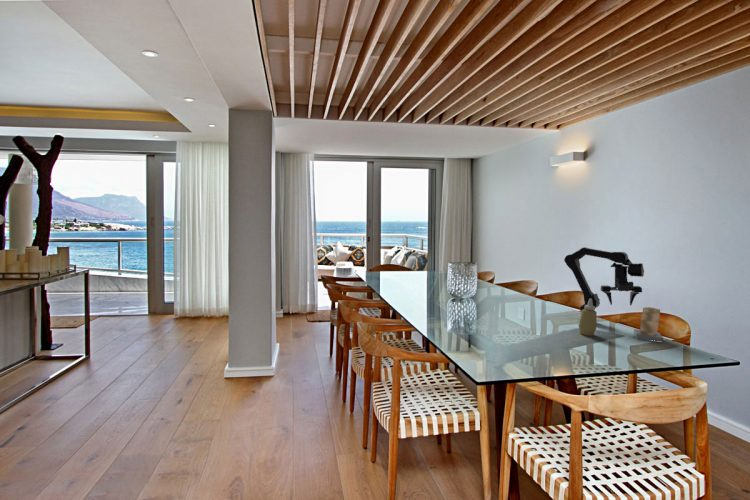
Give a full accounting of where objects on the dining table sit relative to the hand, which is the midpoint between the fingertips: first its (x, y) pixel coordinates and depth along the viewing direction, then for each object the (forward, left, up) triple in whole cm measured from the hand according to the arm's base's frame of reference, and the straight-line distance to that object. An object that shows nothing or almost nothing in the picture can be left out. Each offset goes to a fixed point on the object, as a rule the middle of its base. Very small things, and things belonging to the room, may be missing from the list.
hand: (620, 305), depth 239 cm
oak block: (+12, -13, -10) cm, 20 cm away
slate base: (+12, -13, -13) cm, 22 cm away
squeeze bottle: (-16, -25, -13) cm, 32 cm away
